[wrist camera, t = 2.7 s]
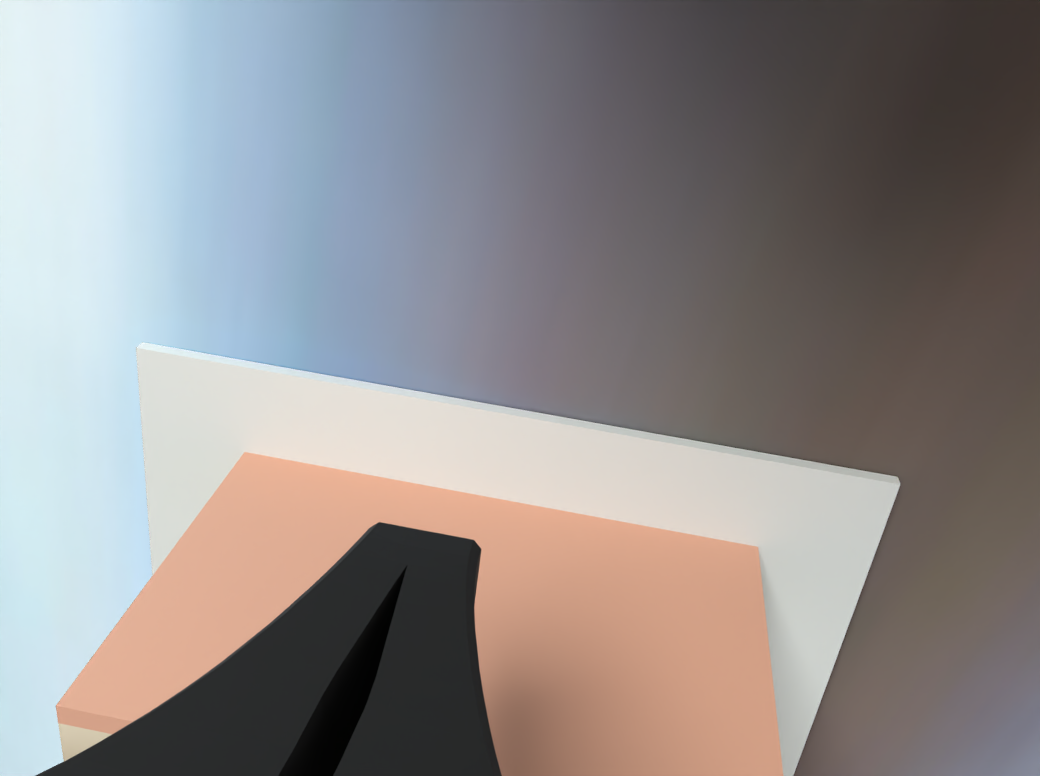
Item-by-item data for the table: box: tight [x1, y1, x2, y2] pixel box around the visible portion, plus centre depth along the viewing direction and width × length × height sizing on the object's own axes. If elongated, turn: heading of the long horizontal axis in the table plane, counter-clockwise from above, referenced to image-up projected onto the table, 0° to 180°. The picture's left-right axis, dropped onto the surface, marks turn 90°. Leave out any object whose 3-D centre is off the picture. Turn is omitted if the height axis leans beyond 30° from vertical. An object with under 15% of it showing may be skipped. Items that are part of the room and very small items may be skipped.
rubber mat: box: [136, 342, 900, 776], centre depth 25 cm, size 17×15×1 cm
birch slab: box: [56, 452, 783, 776], centre depth 20 cm, size 2×12×8 cm, turn 83°
